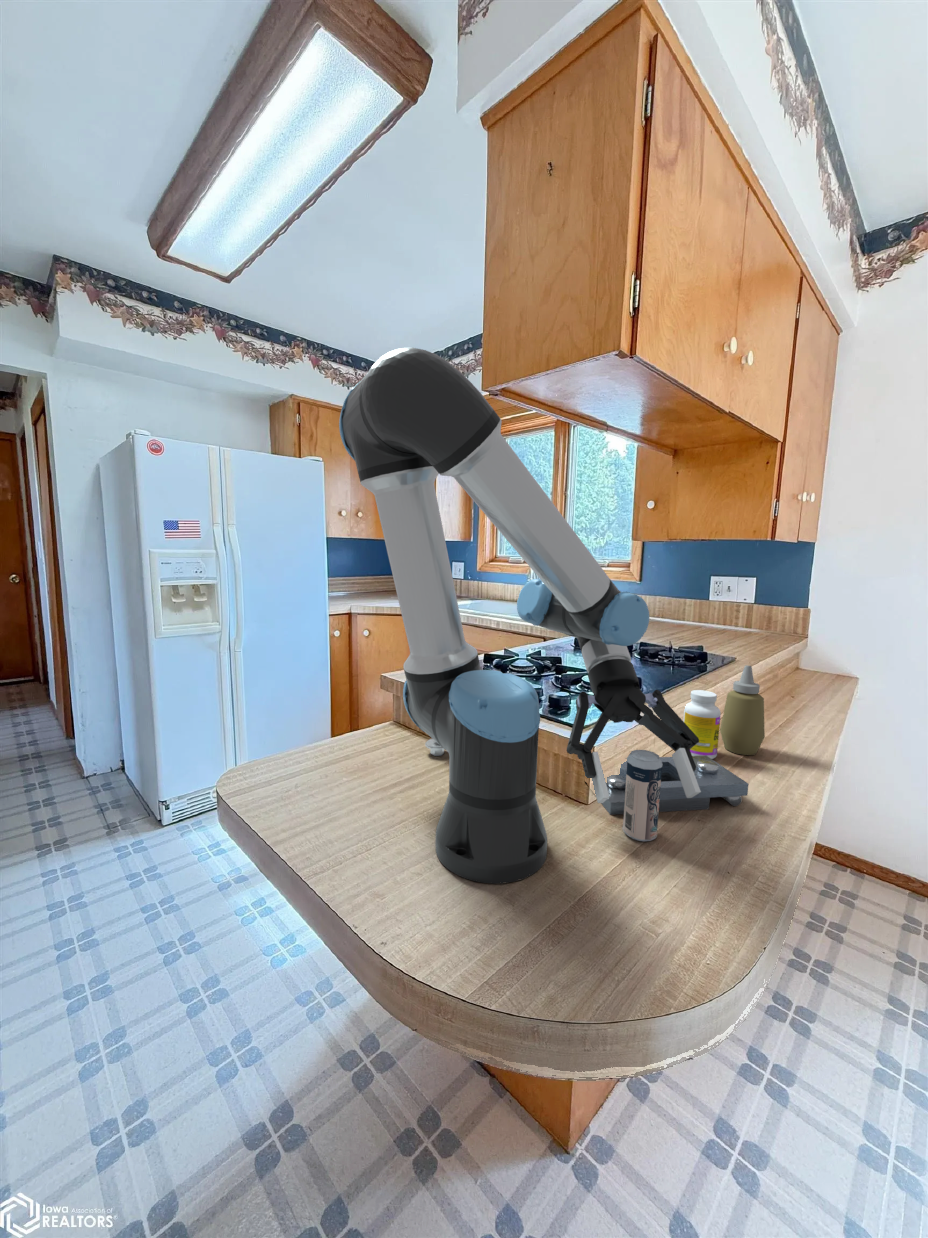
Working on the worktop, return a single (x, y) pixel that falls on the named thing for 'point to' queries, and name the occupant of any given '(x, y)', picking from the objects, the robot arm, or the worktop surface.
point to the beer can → (642, 795)
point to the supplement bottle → (703, 722)
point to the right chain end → (701, 781)
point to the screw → (434, 747)
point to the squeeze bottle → (743, 716)
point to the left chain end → (617, 800)
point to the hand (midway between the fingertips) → (649, 798)
